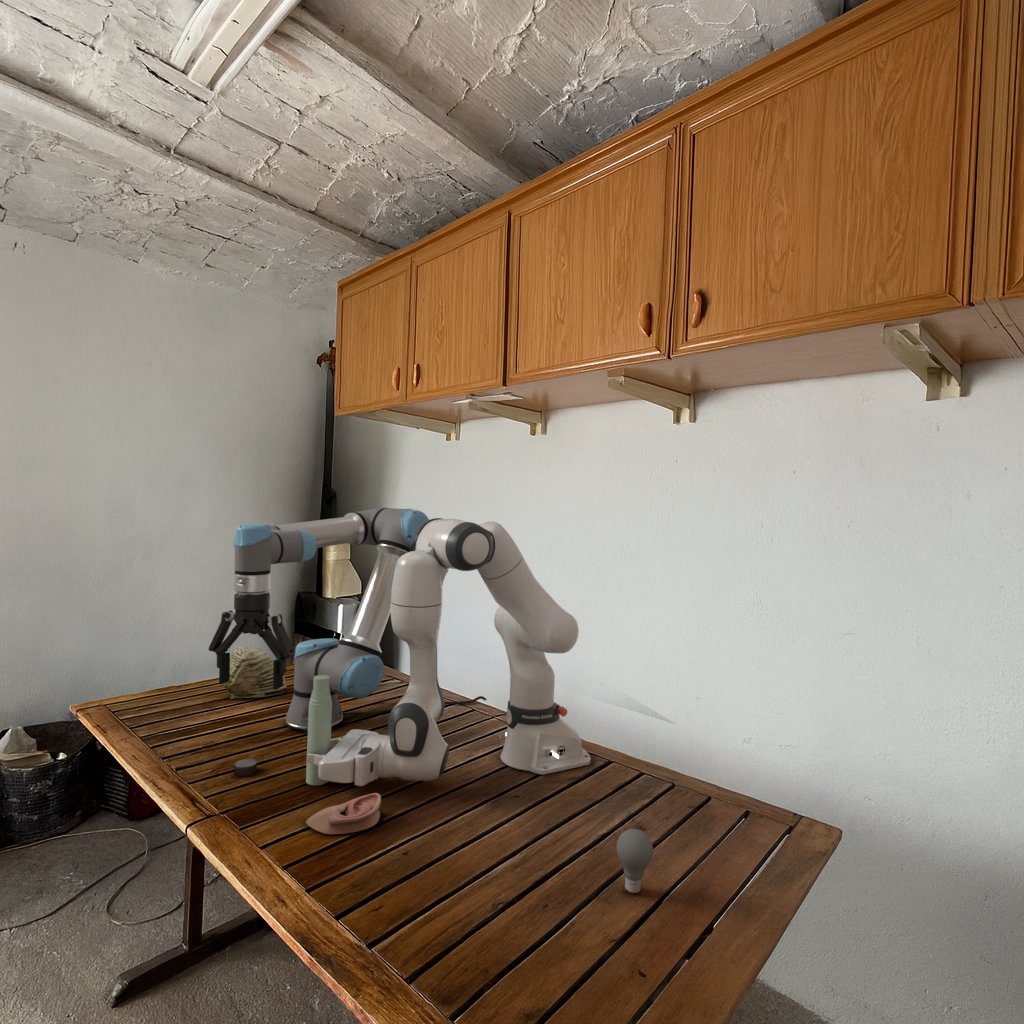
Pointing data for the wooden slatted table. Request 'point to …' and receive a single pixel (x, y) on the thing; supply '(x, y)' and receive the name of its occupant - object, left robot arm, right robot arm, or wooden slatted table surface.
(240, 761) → the cap
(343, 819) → the anatomical model
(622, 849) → the light bulb
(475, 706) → the wooden slatted table surface
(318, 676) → the bottle
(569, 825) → the wooden slatted table surface
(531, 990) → the wooden slatted table surface
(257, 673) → the fossil
